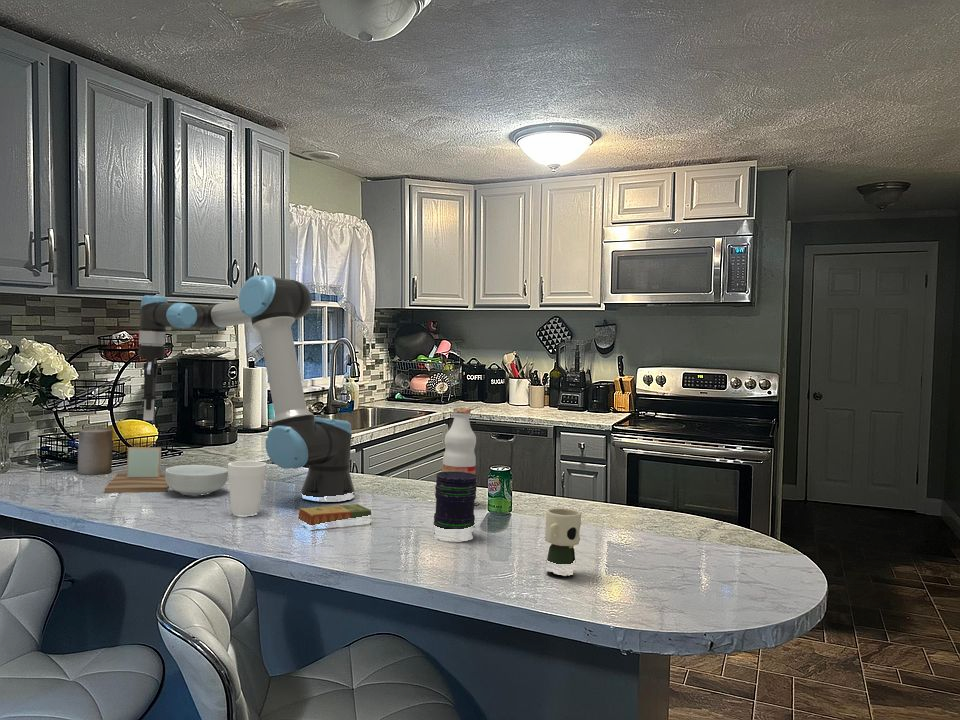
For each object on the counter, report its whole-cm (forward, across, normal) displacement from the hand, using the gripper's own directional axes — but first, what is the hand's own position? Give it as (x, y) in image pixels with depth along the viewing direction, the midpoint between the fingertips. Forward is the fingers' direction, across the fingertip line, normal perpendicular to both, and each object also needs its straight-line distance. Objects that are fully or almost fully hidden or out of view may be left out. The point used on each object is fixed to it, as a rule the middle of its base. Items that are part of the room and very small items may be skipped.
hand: (148, 419), depth 225 cm
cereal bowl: (+18, -27, -16) cm, 36 cm away
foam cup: (+18, -54, -29) cm, 64 cm away
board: (+18, -12, 0) cm, 22 cm away
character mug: (+17, -114, -90) cm, 146 cm away
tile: (+17, -8, 0) cm, 19 cm away
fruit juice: (+17, -50, -87) cm, 102 cm away
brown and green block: (+18, -67, -50) cm, 85 cm away
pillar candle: (+18, +8, +16) cm, 25 cm away
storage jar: (+17, -83, -76) cm, 114 cm away
